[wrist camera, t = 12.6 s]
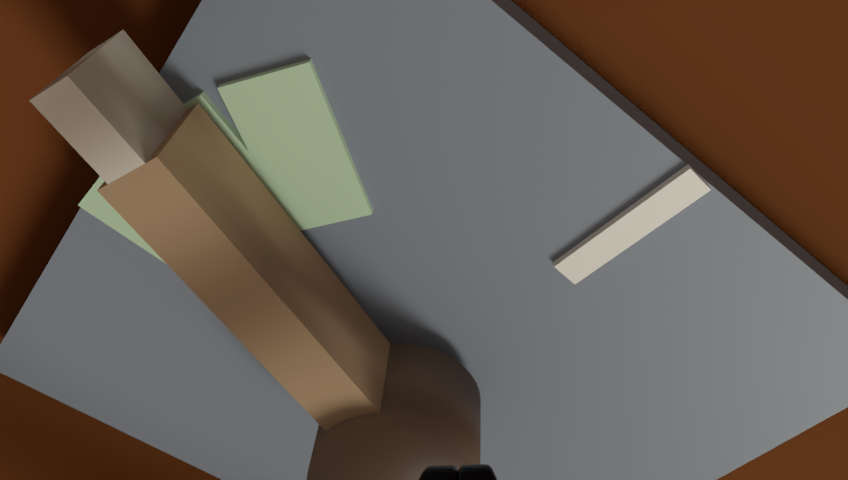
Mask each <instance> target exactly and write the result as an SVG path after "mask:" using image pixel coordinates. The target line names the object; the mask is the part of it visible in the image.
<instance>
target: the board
mask: <svg viewBox="0 0 848 480" xmlns="http://www.w3.org/2000/svg"><path fill="white" fill-rule="evenodd" d="M159 74H160V75H161V77H162V78H163V79H164V80H165V82H166V83H167V84H168V85H169V86H170V88H171V89H172V90H173V91H174V93H175V94H176V95H177V96H178V98H179V99H180V100H181V101H182V103H183V104H184V105H185V106H186V107H187V109H188V108H190V107H192V106H194V105H195V104H197V103H199V105H200V106H201V107H202V108H203V110H204V111H205V112H206V113H207V115H208V116H209V117H210V118H211V120H212V121H213V122H214V123H215V125H216V126H217V127H218V128H219V130H220V131H221V132H222V133H223V135H224V136H225V137H226V138H227V140H228V141H229V142H230V143H231V145H232V146H233V147H234V148H235V150H236V151H237V152H238V153H239V155H240V156H241V157H242V158H243V160H244V161H245V162H246V163H247V165H248V166H249V167H250V168H251V170H252V171H253V172H254V173H255V175H256V176H257V177H258V178H259V180H260V181H261V182H262V183H263V185H264V186H265V187H266V188H267V190H268V191H269V192H270V194H271V195H272V196H273V197H274V199H275V200H276V201H277V202H278V204H279V205H280V206H281V207H282V209H283V210H284V211H285V212H286V214H287V215H288V216H289V217H290V219H291V220H292V221H293V222H294V224H295V225H296V226H297V227H298V229H299V230H300V231H301V232H302V234H303V235H304V236H305V237H306V239H307V240H308V241H309V242H310V244H311V245H312V246H313V247H314V249H315V250H316V251H317V252H318V254H319V255H320V256H321V257H322V259H323V260H324V261H325V262H326V264H327V265H328V266H329V267H330V269H331V270H332V271H333V272H334V274H335V275H336V276H337V277H338V279H339V280H340V281H341V282H342V284H343V285H344V286H345V287H346V289H347V290H348V291H349V292H350V294H351V295H352V296H353V297H354V299H355V300H356V301H357V302H358V304H359V305H360V306H361V307H362V309H363V310H364V311H365V312H366V314H367V315H368V316H369V317H370V319H371V320H372V321H373V322H374V324H375V325H376V326H377V327H378V329H379V330H380V331H381V333H382V334H383V335H384V336H385V338H386V339H387V340H388V341H389V343H405V344H414V345H419V346H424V347H428V348H431V349H434V350H437V351H439V352H442V353H444V354H446V355H448V356H449V357H451V358H453V359H454V360H456V361H457V362H459V363H460V364H461V365H462V366H463V367H465V368H466V369H467V370H468V372H469V373H470V374H471V375H472V377H473V378H474V380H475V381H476V383H477V386H478V388H479V392H480V398H481V458H480V464H488V465H490V466H491V467H492V469H493V471H494V473H495V475H496V478H497V480H717V479H718V478H720V477H722V476H724V475H726V474H728V473H729V472H731V471H733V470H735V469H737V468H738V467H740V466H742V465H744V464H746V463H747V462H749V461H751V460H753V459H755V458H756V457H758V456H760V455H762V454H764V453H765V452H767V451H769V450H771V449H773V448H775V447H776V446H778V445H780V444H782V443H784V442H785V441H787V440H789V439H791V438H793V437H794V436H796V435H798V434H800V433H802V432H803V431H805V430H807V429H809V428H811V427H812V426H814V425H816V424H818V423H820V422H822V421H823V420H825V419H827V418H829V417H831V416H832V415H834V414H836V413H838V412H840V411H841V410H843V409H845V408H847V407H848V286H847V285H846V284H844V283H843V282H842V281H841V280H840V279H838V278H837V277H836V276H835V275H834V274H833V273H831V272H830V271H829V270H828V269H827V268H826V267H824V266H823V265H822V264H821V263H820V262H818V261H817V260H816V259H815V258H814V257H813V256H811V255H810V254H809V253H808V252H807V251H806V250H804V249H803V248H802V247H801V246H800V245H798V244H797V243H796V242H795V241H794V240H793V239H791V238H790V237H789V236H788V235H787V234H786V233H784V232H783V231H782V230H781V229H780V228H778V227H777V226H776V225H775V224H774V223H773V222H771V221H770V220H769V219H768V218H767V217H766V216H764V215H763V214H762V213H761V212H760V211H758V210H757V209H756V208H755V207H754V206H753V205H751V204H750V203H749V202H748V201H747V200H746V199H744V198H743V197H742V196H741V195H740V194H738V193H737V192H736V191H735V190H734V189H733V188H731V187H730V186H729V185H728V184H727V183H726V182H724V181H723V180H722V179H721V178H720V177H718V176H717V175H716V174H715V173H714V172H713V171H711V170H710V169H709V168H708V167H707V166H706V165H704V164H703V163H702V162H701V161H700V160H698V159H697V158H696V157H695V156H694V155H693V154H691V153H690V152H689V151H688V150H687V149H686V148H684V147H683V146H682V145H681V144H680V143H678V142H677V141H676V140H675V139H674V138H673V137H671V136H670V135H669V134H668V133H667V132H666V131H664V130H663V129H662V128H661V127H660V126H658V125H657V124H656V123H655V122H654V121H653V120H651V119H650V118H649V117H648V116H647V115H646V114H644V113H643V112H642V111H641V110H640V109H638V108H637V107H636V106H635V105H634V104H633V103H631V102H630V101H629V100H628V99H627V98H626V97H624V96H623V95H622V94H621V93H620V92H618V91H617V90H616V89H615V88H614V87H613V86H611V85H610V84H609V83H608V82H607V81H606V80H604V79H603V78H602V77H601V76H600V75H598V74H597V73H596V72H595V71H594V70H593V69H591V68H590V67H589V66H588V65H587V64H586V63H584V62H583V61H582V60H581V59H580V58H578V57H577V56H576V55H575V54H574V53H573V52H571V51H570V50H569V49H568V48H567V47H566V46H564V45H563V44H562V43H561V42H560V41H558V40H557V39H556V38H555V37H554V36H553V35H551V34H550V33H549V32H548V31H547V30H546V29H544V28H543V27H542V26H541V25H540V24H538V23H537V22H536V21H535V20H534V19H533V18H531V17H530V16H529V15H528V14H527V13H525V12H524V11H523V10H522V9H521V8H520V7H518V6H517V5H516V4H515V3H514V2H513V1H511V0H202V1H201V3H200V4H199V6H198V8H197V9H196V11H195V13H194V15H193V16H192V18H191V20H190V21H189V23H188V25H187V27H186V28H185V30H184V32H183V33H182V35H181V37H180V39H179V40H178V42H177V44H176V45H175V47H174V49H173V50H172V52H171V54H170V56H169V57H168V59H167V61H166V62H165V64H164V66H163V68H162V69H161V71H160V73H159ZM103 183H104V180H103V179H102V178H101V177H100V176H99V177H98V179H97V180H96V182H95V183H94V185H93V186H92V187H91V189H90V190H89V191H88V193H87V194H86V195H85V197H84V198H83V199H82V200H81V202H80V203H79V204H78V206H79V207H81V208H80V209H79V211H78V213H77V214H76V216H75V218H74V220H73V221H72V223H71V225H70V226H69V228H68V230H67V232H66V233H65V235H64V237H63V238H62V240H61V242H60V243H59V245H58V247H57V249H56V250H55V252H54V254H53V255H52V257H51V259H50V261H49V262H48V264H47V266H46V267H45V269H44V271H43V273H42V274H41V276H40V278H39V279H38V281H37V283H36V284H35V286H34V288H33V290H32V291H31V293H30V295H29V296H28V298H27V300H26V302H25V303H24V305H23V307H22V308H21V310H20V312H19V314H18V315H17V317H16V319H15V320H14V322H13V324H12V325H11V327H10V329H9V331H8V332H7V334H6V336H5V337H4V339H3V341H2V343H1V344H0V373H2V374H4V375H6V376H8V377H10V378H12V379H14V380H17V381H19V382H21V383H23V384H25V385H27V386H29V387H31V388H33V389H35V390H37V391H39V392H41V393H43V394H46V395H48V396H50V397H52V398H54V399H56V400H58V401H60V402H62V403H64V404H66V405H68V406H70V407H72V408H74V409H77V410H79V411H81V412H83V413H85V414H87V415H89V416H91V417H93V418H95V419H97V420H99V421H101V422H103V423H106V424H108V425H110V426H112V427H114V428H116V429H118V430H120V431H122V432H124V433H126V434H128V435H130V436H132V437H134V438H137V439H139V440H141V441H143V442H145V443H147V444H149V445H151V446H153V447H155V448H157V449H159V450H161V451H163V452H166V453H168V454H170V455H172V456H174V457H176V458H178V459H180V460H182V461H184V462H186V463H188V464H190V465H192V466H195V467H197V468H199V469H201V470H203V471H205V472H207V473H209V474H211V475H213V476H215V477H217V478H219V479H221V480H307V473H308V468H309V464H310V460H311V456H312V451H313V447H314V443H315V439H316V434H317V430H318V426H319V424H318V423H317V422H316V421H315V420H314V418H313V417H312V416H311V415H310V414H309V413H308V412H307V411H306V410H305V409H304V408H303V407H302V406H301V405H300V404H299V403H298V402H297V401H296V400H295V398H294V397H293V396H292V395H291V394H290V393H289V392H288V391H287V390H286V389H285V388H284V387H283V386H282V385H281V384H280V383H279V382H278V381H277V380H276V378H275V377H274V376H273V375H272V374H271V373H270V372H269V371H268V370H267V369H266V368H265V367H264V366H263V365H262V364H261V363H260V362H259V361H258V360H257V359H256V357H255V356H254V355H253V354H252V353H251V352H250V351H249V350H248V349H247V348H246V347H245V346H244V345H243V344H242V343H241V342H240V341H239V340H238V339H237V337H236V336H235V335H234V334H233V333H232V332H231V331H230V330H229V329H228V328H227V327H226V326H225V325H224V324H223V323H222V322H221V321H220V320H219V319H218V317H217V316H216V315H215V314H214V313H213V312H212V311H211V310H210V309H209V308H208V307H207V306H206V305H205V304H204V303H203V302H202V301H201V300H200V299H199V297H198V296H197V295H196V294H195V293H194V292H193V291H192V290H191V289H190V288H189V287H188V286H187V285H186V284H185V283H184V282H183V281H182V280H181V279H180V278H179V276H178V275H177V274H176V273H175V272H174V271H173V270H172V269H171V268H170V267H169V266H168V265H167V264H166V263H165V262H164V261H163V260H162V259H161V258H160V256H159V255H158V254H157V253H156V252H155V251H154V250H153V249H152V248H151V247H150V246H149V245H148V244H147V243H146V242H145V241H144V240H143V239H142V238H141V236H140V235H139V234H138V233H137V232H136V231H135V230H134V229H133V228H132V227H131V226H130V225H129V224H128V223H127V222H126V221H125V220H124V219H123V218H122V216H121V215H120V214H119V213H118V212H117V211H116V210H115V209H114V208H113V207H112V206H111V205H110V204H109V203H108V202H107V201H106V200H105V199H104V198H103V197H102V195H101V194H100V193H99V192H98V191H97V190H98V188H99V187H100V186H101V185H102V184H103Z"/></svg>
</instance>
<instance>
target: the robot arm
mask: <svg viewBox="0 0 848 480" xmlns="http://www.w3.org/2000/svg"><path fill="white" fill-rule="evenodd" d="M418 480H497V478H496V475H495V473H494V471H493V469H492V467H491V466H490V465H488V464H476V465H463V466H461V467H460V468H459V470H458V468H457V467H456V466H453V465H443V466H428V467H427V468H425V469H424V471H423V472H422V474H421V475H420V477H419V479H418Z"/></svg>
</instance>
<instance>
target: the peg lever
mask: <svg viewBox="0 0 848 480" xmlns="http://www.w3.org/2000/svg"><path fill="white" fill-rule="evenodd" d="M29 101H30V102H31V103H32V104H33V105H34V106H35V107H36V108H37V109H38V110H39V112H40V113H41V114H42V115H43V116H44V117H45V118H46V119H47V120H48V121H49V122H50V123H51V124H52V125H53V126H54V128H55V129H56V130H57V131H58V132H59V133H60V134H61V135H62V136H63V137H64V138H65V139H66V140H67V141H68V143H69V144H70V145H71V146H72V147H73V148H74V149H75V150H76V151H77V152H78V153H79V154H80V155H81V156H82V157H83V159H84V160H85V161H86V162H87V163H88V164H89V165H90V166H91V167H92V168H93V169H94V170H95V171H96V172H97V174H98V175H99V176H100V177H101V178H102V179H103V180H104V183H103V184H102V185H101V186H100V187H99V188H98V190H97V191H98V192H99V193H100V194H101V195H102V197H103V198H104V199H105V200H106V201H107V202H108V203H109V204H110V205H111V206H112V207H113V208H114V209H115V210H116V211H117V212H118V213H119V214H120V215H121V216H122V218H123V219H124V220H125V221H126V222H127V223H128V224H129V225H130V226H131V227H132V228H133V229H134V230H135V231H136V232H137V233H138V234H139V235H140V236H141V238H142V239H143V240H144V241H145V242H146V243H147V244H148V245H149V246H150V247H151V248H152V249H153V250H154V251H155V252H156V253H157V254H158V255H159V256H160V258H161V259H162V260H163V261H164V262H165V263H166V264H167V265H168V266H169V267H170V268H171V269H172V270H173V271H174V272H175V273H176V274H177V275H178V276H179V278H180V279H181V280H182V281H183V282H184V283H185V284H186V285H187V286H188V287H189V288H190V289H191V290H192V291H193V292H194V293H195V294H196V295H197V296H198V297H199V299H200V300H201V301H202V302H203V303H204V304H205V305H206V306H207V307H208V308H209V309H210V310H211V311H212V312H213V313H214V314H215V315H216V316H217V317H218V319H219V320H220V321H221V322H222V323H223V324H224V325H225V326H226V327H227V328H228V329H229V330H230V331H231V332H232V333H233V334H234V335H235V336H236V337H237V339H238V340H239V341H240V342H241V343H242V344H243V345H244V346H245V347H246V348H247V349H248V350H249V351H250V352H251V353H252V354H253V355H254V356H255V357H256V359H257V360H258V361H259V362H260V363H261V364H262V365H263V366H264V367H265V368H266V369H267V370H268V371H269V372H270V373H271V374H272V375H273V376H274V377H275V378H276V380H277V381H278V382H279V383H280V384H281V385H282V386H283V387H284V388H285V389H286V390H287V391H288V392H289V393H290V394H291V395H292V396H293V397H294V398H295V400H296V401H297V402H298V403H299V404H300V405H301V406H302V407H303V408H304V409H305V410H306V411H307V412H308V413H309V414H310V415H311V416H312V417H313V418H314V420H315V421H316V422H317V423H318V424H319V426H318V430H317V434H316V439H315V443H314V447H313V451H312V456H311V460H310V464H309V468H308V473H307V480H418V479H419V477H420V475H421V474H422V472H423V471H424V469H425V468H427V467H428V466H443V465H453V466H456V467H457V468H458V470H459V468H460V467H461V466H463V465H476V464H480V458H481V398H480V392H479V388H478V386H477V383H476V381H475V380H474V378H473V377H472V375H471V374H470V373H469V372H468V370H467V369H466V368H465V367H463V366H462V365H461V364H460V363H459V362H457V361H456V360H454V359H453V358H451V357H449V356H448V355H446V354H444V353H442V352H439V351H437V350H434V349H431V348H428V347H424V346H419V345H414V344H405V343H389V341H388V340H387V339H386V338H385V336H384V335H383V334H382V333H381V331H380V330H379V329H378V327H377V326H376V325H375V324H374V322H373V321H372V320H371V319H370V317H369V316H368V315H367V314H366V312H365V311H364V310H363V309H362V307H361V306H360V305H359V304H358V302H357V301H356V300H355V299H354V297H353V296H352V295H351V294H350V292H349V291H348V290H347V289H346V287H345V286H344V285H343V284H342V282H341V281H340V280H339V279H338V277H337V276H336V275H335V274H334V272H333V271H332V270H331V269H330V267H329V266H328V265H327V264H326V262H325V261H324V260H323V259H322V257H321V256H320V255H319V254H318V252H317V251H316V250H315V249H314V247H313V246H312V245H311V244H310V242H309V241H308V240H307V239H306V237H305V236H304V235H303V234H302V232H301V231H300V230H299V229H298V227H297V226H296V225H295V224H294V222H293V221H292V220H291V219H290V217H289V216H288V215H287V214H286V212H285V211H284V210H283V209H282V207H281V206H280V205H279V204H278V202H277V201H276V200H275V199H274V197H273V196H272V195H271V194H270V192H269V191H268V190H267V188H266V187H265V186H264V185H263V183H262V182H261V181H260V180H259V178H258V177H257V176H256V175H255V173H254V172H253V171H252V170H251V168H250V167H249V166H248V165H247V163H246V162H245V161H244V160H243V158H242V157H241V156H240V155H239V153H238V152H237V151H236V150H235V148H234V147H233V146H232V145H231V143H230V142H229V141H228V140H227V138H226V137H225V136H224V135H223V133H222V132H221V131H220V130H219V128H218V127H217V126H216V125H215V123H214V122H213V121H212V120H211V118H210V117H209V116H208V115H207V113H206V112H205V111H204V110H203V108H202V107H201V106H200V105H199V103H197V104H195V105H194V106H192V107H190V108H188V109H187V107H186V106H185V105H184V104H183V103H182V101H181V100H180V99H179V98H178V96H177V95H176V94H175V93H174V91H173V90H172V89H171V88H170V86H169V85H168V84H167V83H166V82H165V80H164V79H163V78H162V77H161V75H160V74H159V73H158V72H157V70H156V69H155V68H154V67H153V66H152V64H151V63H150V62H149V61H148V59H147V58H146V57H145V56H144V54H143V53H142V52H141V51H140V50H139V48H138V47H137V46H136V45H135V43H134V42H133V41H132V40H131V38H130V37H129V36H128V35H127V33H126V32H125V31H124V30H122V31H120V32H118V33H117V34H115V35H114V36H112V37H111V38H109V39H108V40H106V41H105V42H103V43H102V44H100V45H99V46H97V47H96V48H94V49H93V50H91V51H90V52H88V53H87V54H86V55H84V56H83V57H82V58H81V59H80V60H78V61H77V62H76V63H75V64H73V65H72V66H71V67H70V68H69V69H67V70H66V71H65V72H64V73H62V74H61V75H60V76H59V77H58V78H56V79H55V80H54V81H53V82H51V83H50V84H49V85H48V86H46V87H45V88H44V89H43V90H42V91H40V92H39V93H38V94H37V95H35V96H34V97H33V98H32V99H31V100H29Z"/></svg>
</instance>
